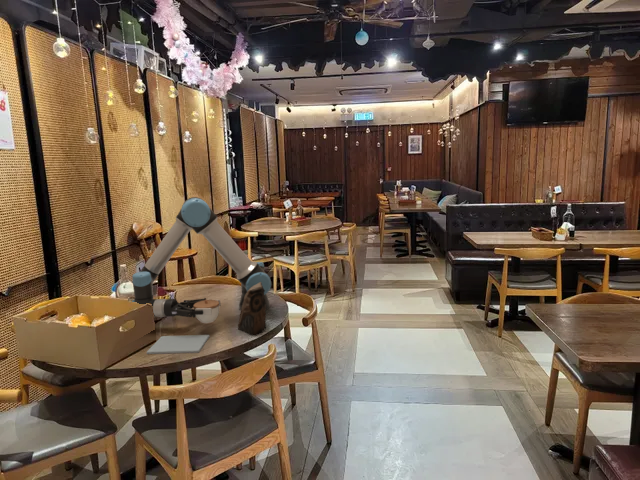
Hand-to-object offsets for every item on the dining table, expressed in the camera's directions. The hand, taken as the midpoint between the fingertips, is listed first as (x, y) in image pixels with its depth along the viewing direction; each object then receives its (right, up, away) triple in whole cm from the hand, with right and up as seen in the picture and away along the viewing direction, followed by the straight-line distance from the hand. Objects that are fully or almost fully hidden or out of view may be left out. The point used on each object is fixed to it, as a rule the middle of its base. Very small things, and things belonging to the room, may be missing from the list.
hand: (215, 307), depth 188 cm
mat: (-12, -13, -12) cm, 22 cm away
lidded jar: (-4, -6, +1) cm, 8 cm away
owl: (+16, -10, +2) cm, 19 cm away
